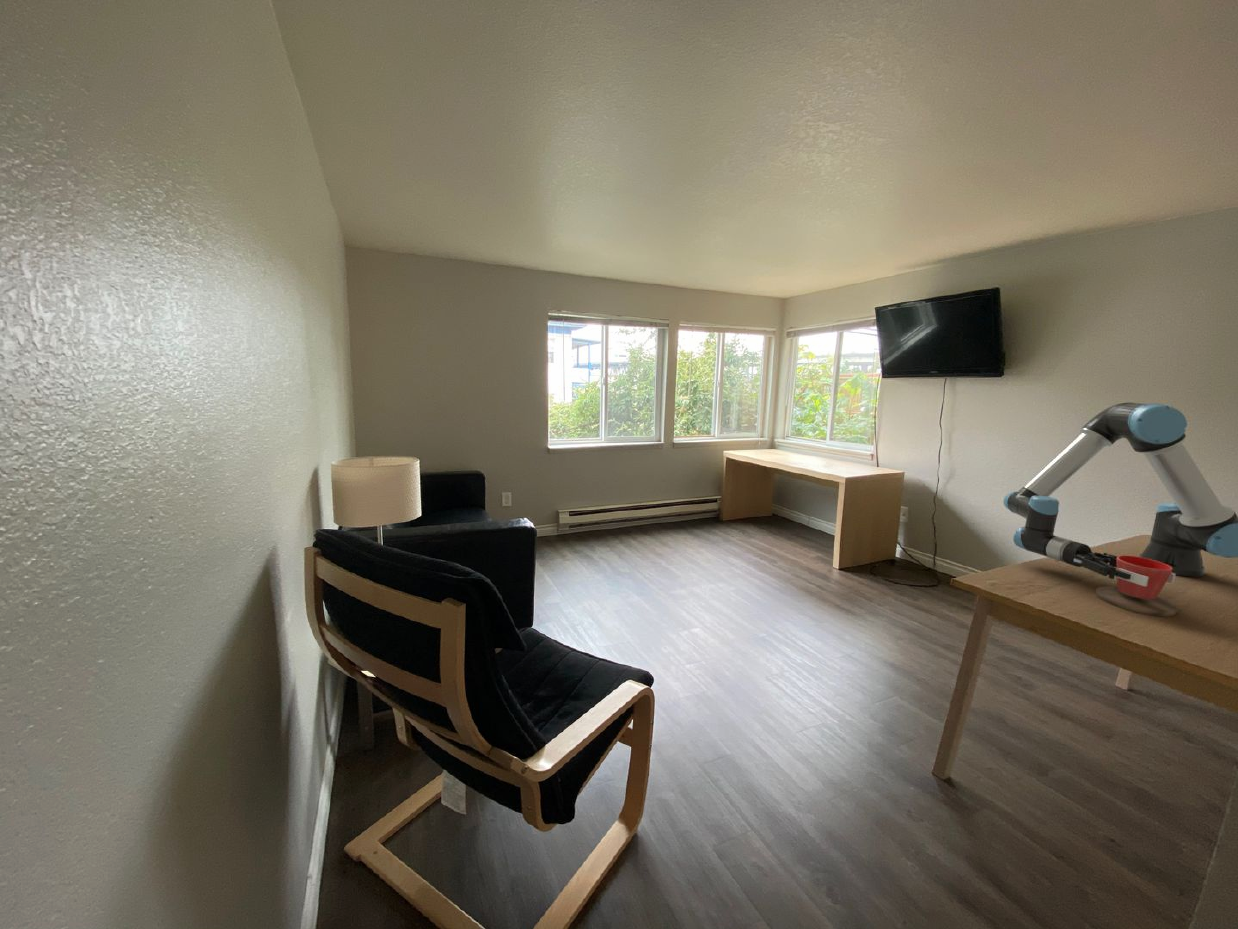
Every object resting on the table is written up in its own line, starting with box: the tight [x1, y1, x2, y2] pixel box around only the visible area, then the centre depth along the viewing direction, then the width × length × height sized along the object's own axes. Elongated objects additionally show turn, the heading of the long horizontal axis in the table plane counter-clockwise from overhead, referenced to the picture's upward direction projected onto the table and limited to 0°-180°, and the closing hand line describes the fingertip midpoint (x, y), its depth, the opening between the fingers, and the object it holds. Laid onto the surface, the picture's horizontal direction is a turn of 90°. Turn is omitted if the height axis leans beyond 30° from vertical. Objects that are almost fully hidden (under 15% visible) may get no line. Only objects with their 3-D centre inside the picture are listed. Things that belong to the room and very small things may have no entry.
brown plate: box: [1095, 585, 1178, 618], centre depth 139 cm, size 16×16×2 cm
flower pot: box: [1116, 555, 1173, 599], centre depth 137 cm, size 11×11×10 cm
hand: (1160, 580), depth 133 cm, fingers closed on flower pot, 10 cm apart
